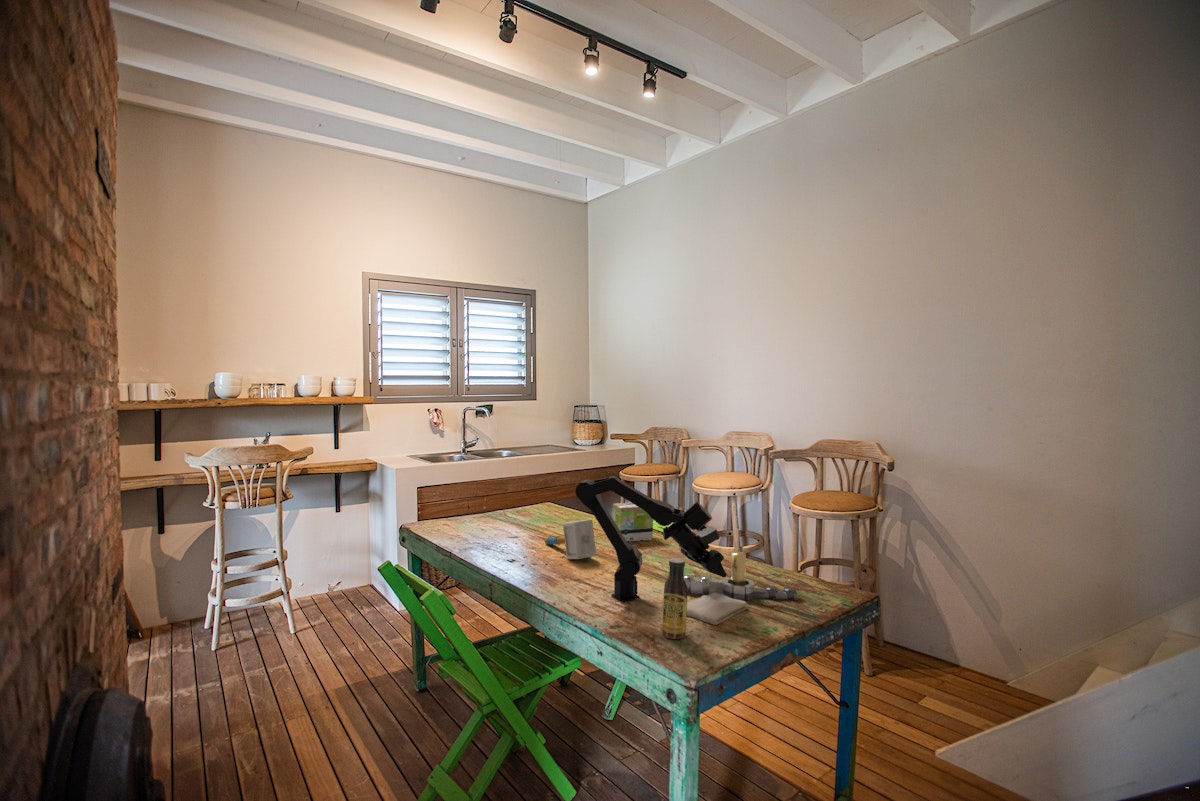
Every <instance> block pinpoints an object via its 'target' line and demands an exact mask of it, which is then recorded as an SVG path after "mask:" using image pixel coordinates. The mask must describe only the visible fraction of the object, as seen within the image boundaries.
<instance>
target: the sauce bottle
mask: <svg viewBox="0 0 1200 801" xmlns="http://www.w3.org/2000/svg"><path fill="white" fill-rule="evenodd" d="M685 566H686V561H685V560H684V559H682V558H678V557H677V558H675V557H674V558H669V561H668V567H669V571H668V577H667V579H666V581H665V582H664V587H663V588H664V589H663V595H662V596H663V598H662V614H661V615H662V616H661V631H662V632H661V634H662V636H663V637H665V638H667V639H669V640H681V639H683V638H684V637H685V636H686V630H687V616H686V615H687V604H688V593H687V585H686V583H685V581H684V575H685V574H684V573H685V572H684V571H685V570H684V569H685Z"/></svg>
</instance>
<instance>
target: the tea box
mask: <svg viewBox="0 0 1200 801" xmlns="http://www.w3.org/2000/svg"><path fill="white" fill-rule="evenodd" d="M611 512H612V513H611V514H612V515H611V517H612V519H613V520H614V522H615V523H616V525H617V527H618V528H619V530H620V532H621V533H622V535H623V536H624V538H625V540H626V541H627V542H628V541H629V542H640V540H643V541H649V540H648V539H652V540H653V537H654V536H653V534H654V520H653V519H652V518H651V517H650V516H649V515H648V514H647V512H645V511H644V510H643V509H641V508H640V507H638V506H636V505H635V504H633V503H631V502H621V503H618V502H617V503H616V502H615V503H612V511H611Z"/></svg>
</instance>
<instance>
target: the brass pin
mask: <svg viewBox="0 0 1200 801" xmlns="http://www.w3.org/2000/svg"><path fill="white" fill-rule="evenodd" d="M730 554H731V558H730V561H731V562H730V577H731V584H732V585H738V586H745V579H747V578H746V576H747V574H746V570H747V567H746V566H747V564H746V563H747V554H746V553H745V552H743V551H731V553H730Z"/></svg>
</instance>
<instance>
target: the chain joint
mask: <svg viewBox="0 0 1200 801" xmlns="http://www.w3.org/2000/svg"><path fill="white" fill-rule="evenodd" d="M684 581H685V583H686V585H687V594H688V593H690V594H693V593H694V594H693V595H695V594H696V595H710V594H712V593H717V594H721V595H725V596H727V597H729V598H732V599H736V600H742V601H745V602H746V600H747V601H751V600H753V599H754V598H757V599H768V598H770V599H769V600H783V599H788V600H787V601H797V600H798V598H799V596H798V591H797V589H796V588H794V587H790V586H789V587H787V586H786V587H784V588H783V589H779V588H778V587H777V586H773V585H767V586H765V588H764V587H763V588H762V587H755V582H754V581H753V580H752V579H749V578H746V579H745V586H738V585H732V584H731V576H730V577H725V578H723V579H722V578H721V579H720V578H713V577H711V576H709V575H701V576H700V577H694V575H692V574H684Z"/></svg>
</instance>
